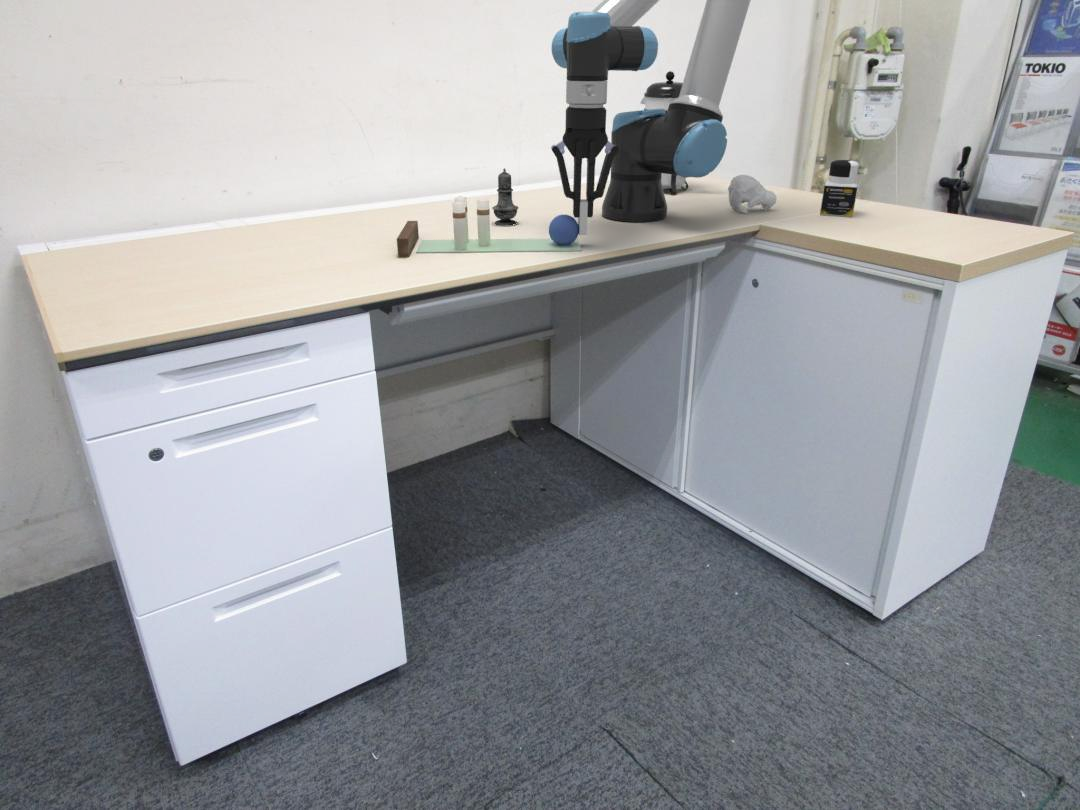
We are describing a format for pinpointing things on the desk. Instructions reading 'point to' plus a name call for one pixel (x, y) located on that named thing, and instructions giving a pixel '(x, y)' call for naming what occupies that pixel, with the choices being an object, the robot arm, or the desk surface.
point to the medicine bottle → (840, 189)
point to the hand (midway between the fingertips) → (582, 233)
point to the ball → (563, 230)
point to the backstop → (407, 239)
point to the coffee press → (660, 99)
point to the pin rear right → (464, 199)
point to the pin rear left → (459, 225)
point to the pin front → (483, 222)
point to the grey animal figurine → (749, 194)
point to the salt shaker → (505, 201)
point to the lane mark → (497, 246)
